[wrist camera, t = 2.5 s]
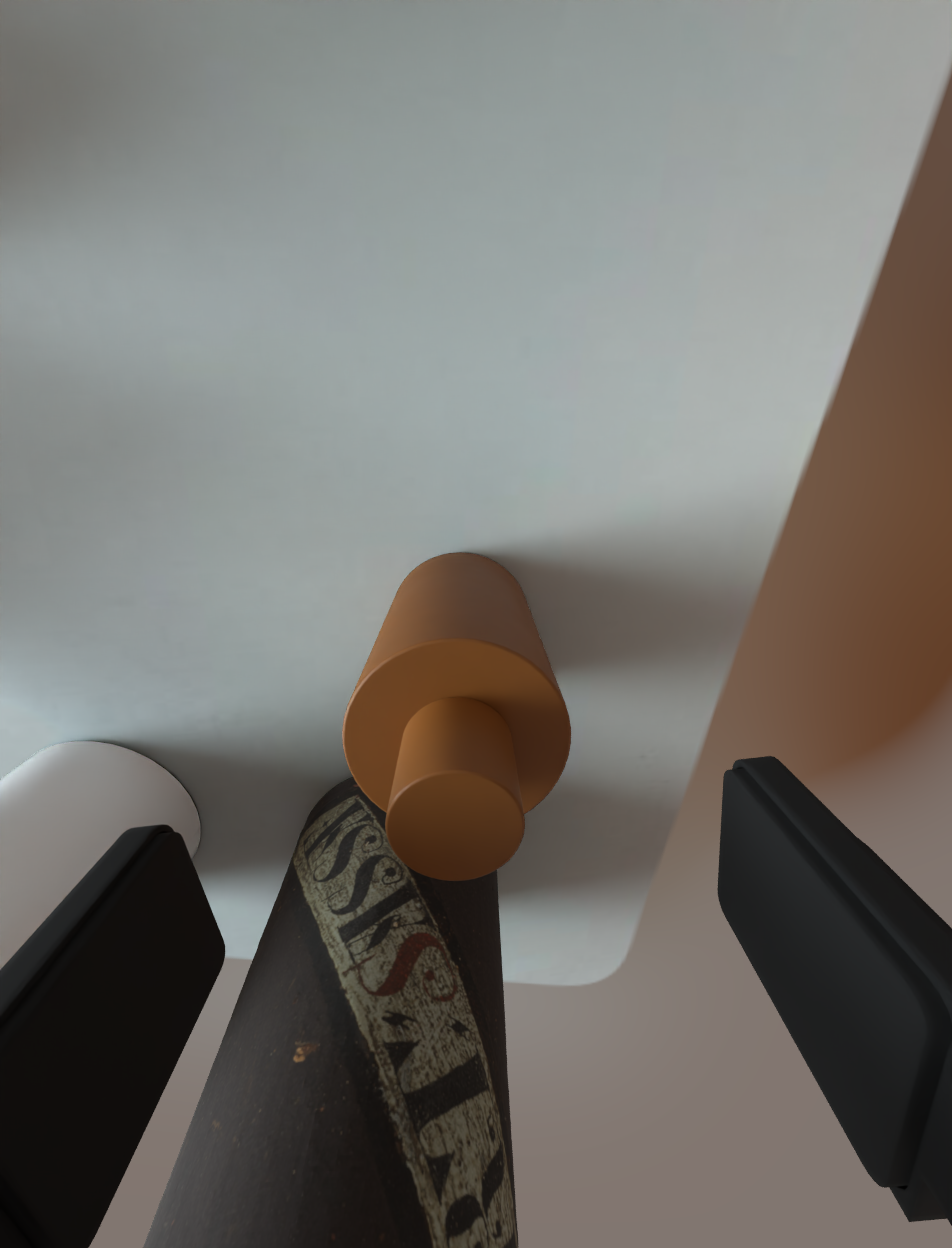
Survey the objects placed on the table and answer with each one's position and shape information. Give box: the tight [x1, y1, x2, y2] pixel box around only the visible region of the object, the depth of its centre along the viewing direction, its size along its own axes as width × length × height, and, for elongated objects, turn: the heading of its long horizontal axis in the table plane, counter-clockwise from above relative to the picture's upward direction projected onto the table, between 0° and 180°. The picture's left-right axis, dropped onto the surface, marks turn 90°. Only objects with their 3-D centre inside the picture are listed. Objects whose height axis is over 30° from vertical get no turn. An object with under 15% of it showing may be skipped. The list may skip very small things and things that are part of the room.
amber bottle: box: [342, 553, 571, 881], centre depth 13 cm, size 5×5×10 cm
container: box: [143, 777, 518, 1248], centre depth 13 cm, size 9×9×20 cm
